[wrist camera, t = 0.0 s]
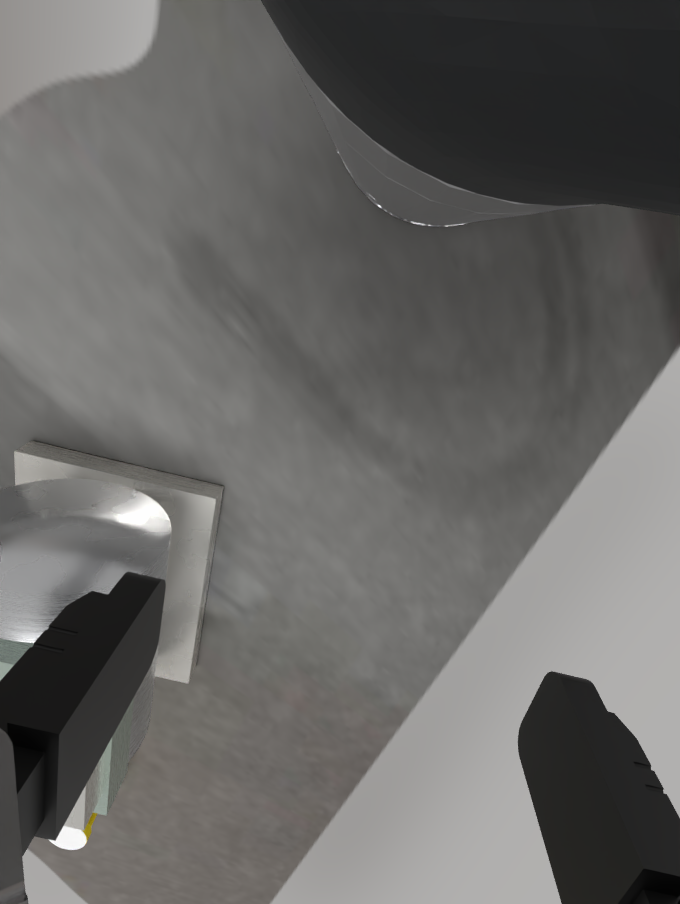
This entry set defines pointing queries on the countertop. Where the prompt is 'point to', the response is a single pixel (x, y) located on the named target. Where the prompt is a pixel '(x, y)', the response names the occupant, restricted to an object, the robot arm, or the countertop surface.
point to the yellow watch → (74, 836)
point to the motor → (104, 570)
